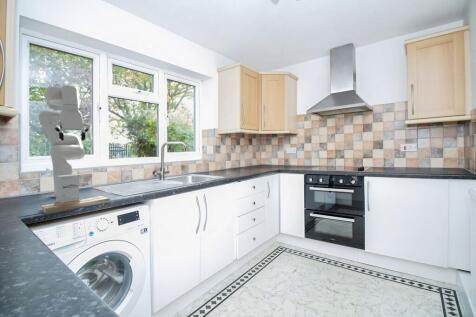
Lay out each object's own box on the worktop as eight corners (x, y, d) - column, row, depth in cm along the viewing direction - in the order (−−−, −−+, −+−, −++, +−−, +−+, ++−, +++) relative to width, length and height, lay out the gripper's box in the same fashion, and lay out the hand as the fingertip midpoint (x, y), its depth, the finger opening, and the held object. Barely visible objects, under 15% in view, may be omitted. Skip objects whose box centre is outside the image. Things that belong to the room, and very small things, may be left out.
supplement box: (62, 203, 107) (60, 176, 107) (55, 202, 112) (54, 175, 111) (80, 200, 113) (78, 174, 113) (73, 198, 118) (72, 174, 117)
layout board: (41, 209, 109) (40, 203, 109) (101, 199, 129) (101, 194, 128) (46, 213, 102) (46, 206, 102) (109, 202, 121) (109, 196, 121)
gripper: (86, 111, 136) (88, 140, 136) (49, 108, 123) (51, 140, 123) (91, 109, 131) (93, 140, 132) (52, 106, 118) (55, 139, 118)
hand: (72, 140), depth 127 cm, fingers open, 9 cm apart
